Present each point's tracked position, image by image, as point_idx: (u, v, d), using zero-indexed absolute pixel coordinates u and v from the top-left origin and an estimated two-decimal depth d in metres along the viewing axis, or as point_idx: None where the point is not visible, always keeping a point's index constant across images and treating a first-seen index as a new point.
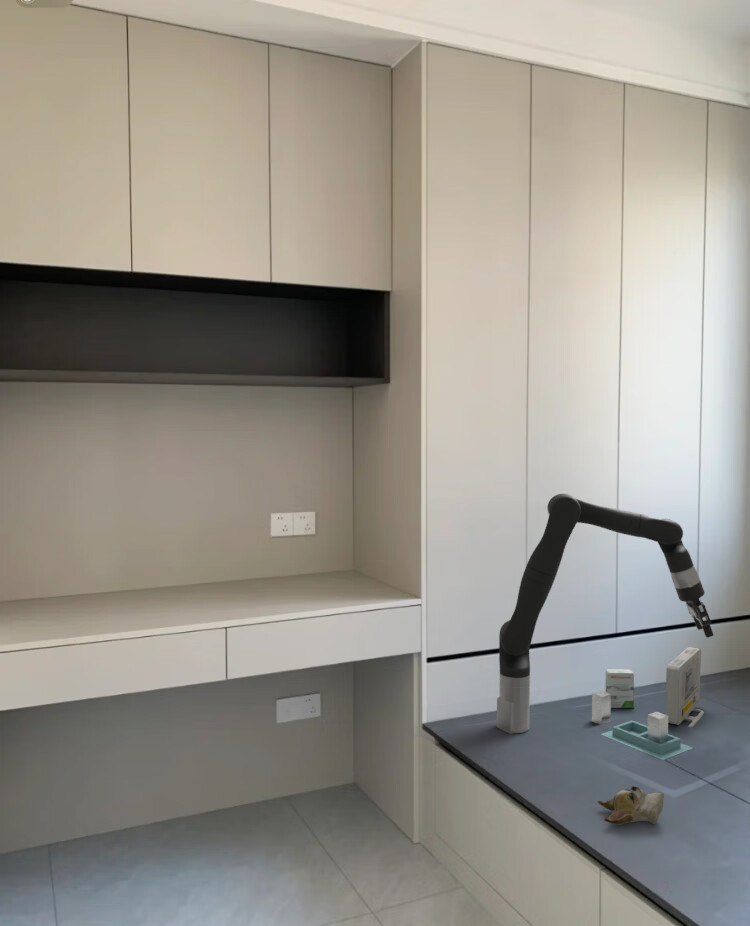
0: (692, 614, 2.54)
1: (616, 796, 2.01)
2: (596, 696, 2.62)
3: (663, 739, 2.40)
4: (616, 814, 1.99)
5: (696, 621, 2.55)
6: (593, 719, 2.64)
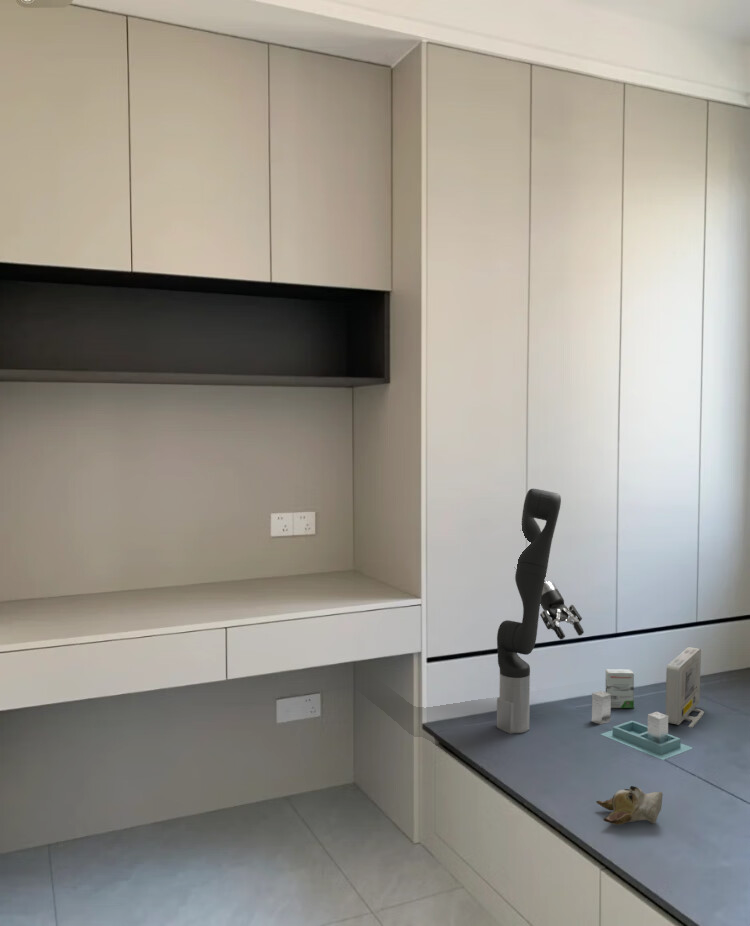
0: (558, 621, 2.72)
1: (615, 796, 2.02)
2: (596, 696, 2.62)
3: (663, 739, 2.40)
4: (615, 814, 1.99)
5: None
6: (593, 719, 2.64)
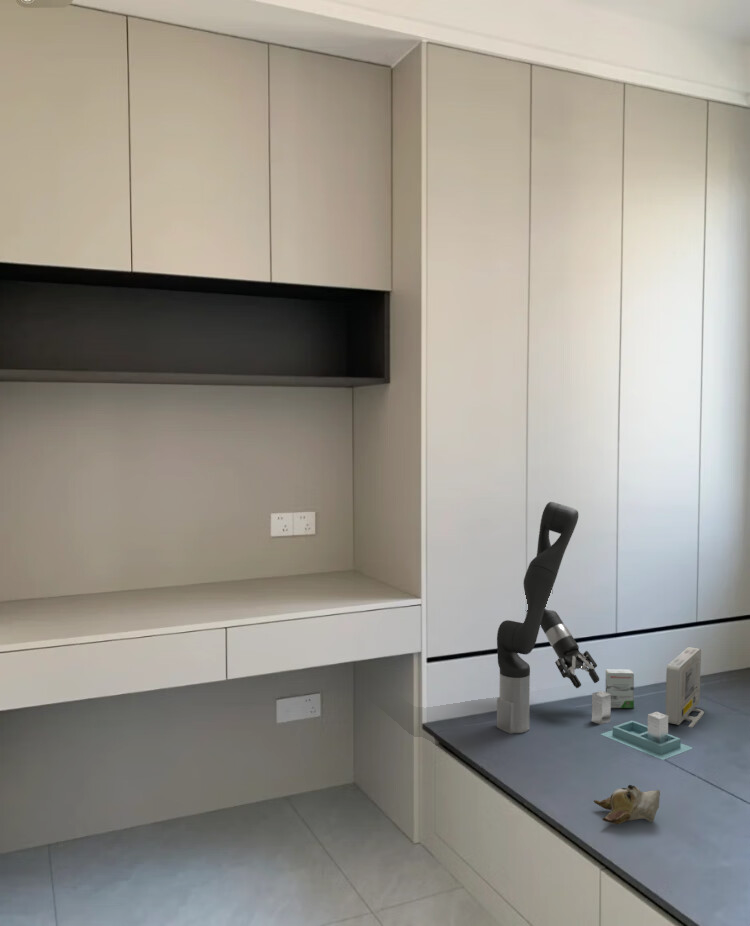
0: (574, 669, 2.68)
1: (613, 795, 2.02)
2: (596, 696, 2.62)
3: (663, 739, 2.40)
4: (614, 813, 1.99)
5: None
6: (593, 719, 2.64)
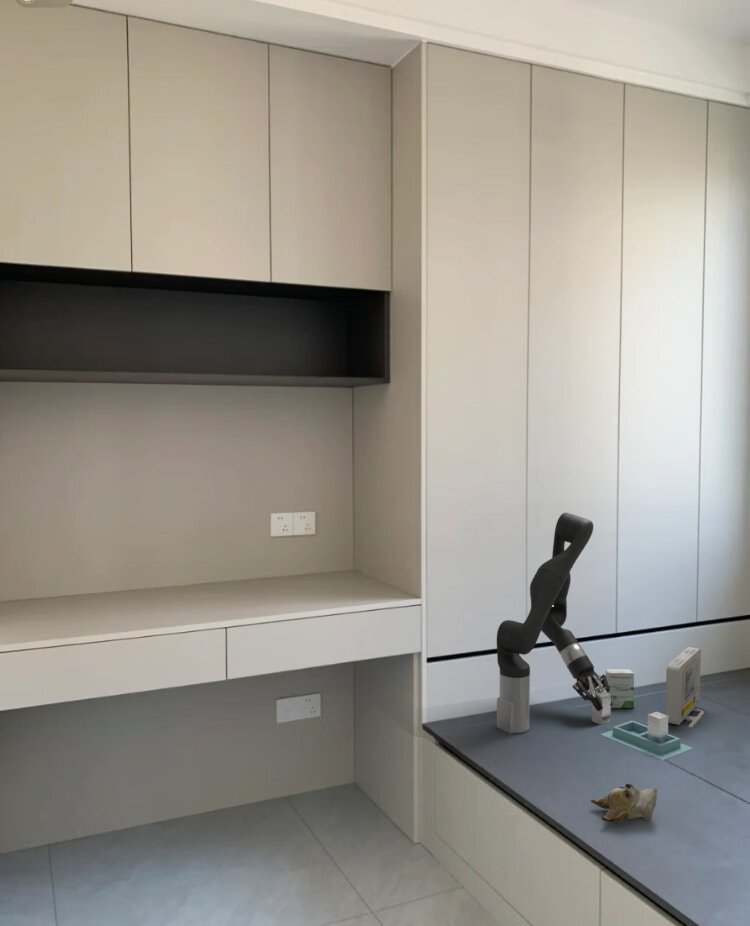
0: (593, 690, 2.63)
1: (611, 794, 2.02)
2: (596, 696, 2.62)
3: (663, 739, 2.40)
4: (612, 812, 2.00)
5: None
6: (593, 719, 2.64)
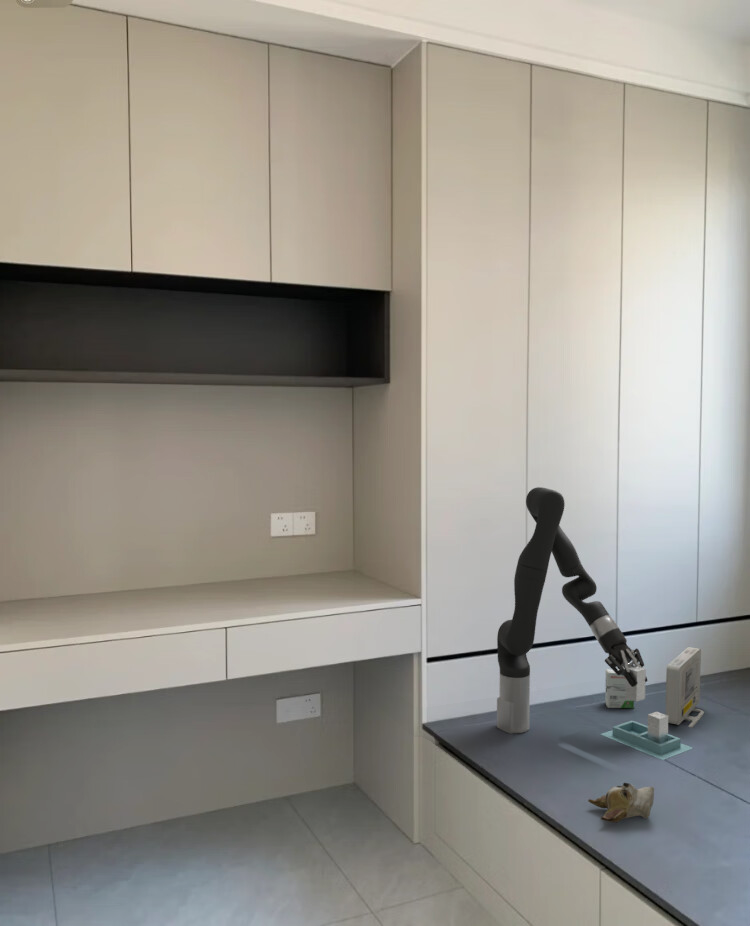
0: (627, 665, 2.47)
1: (609, 794, 2.03)
2: (630, 670, 2.46)
3: (663, 739, 2.40)
4: (611, 812, 2.00)
5: None
6: (627, 695, 2.48)
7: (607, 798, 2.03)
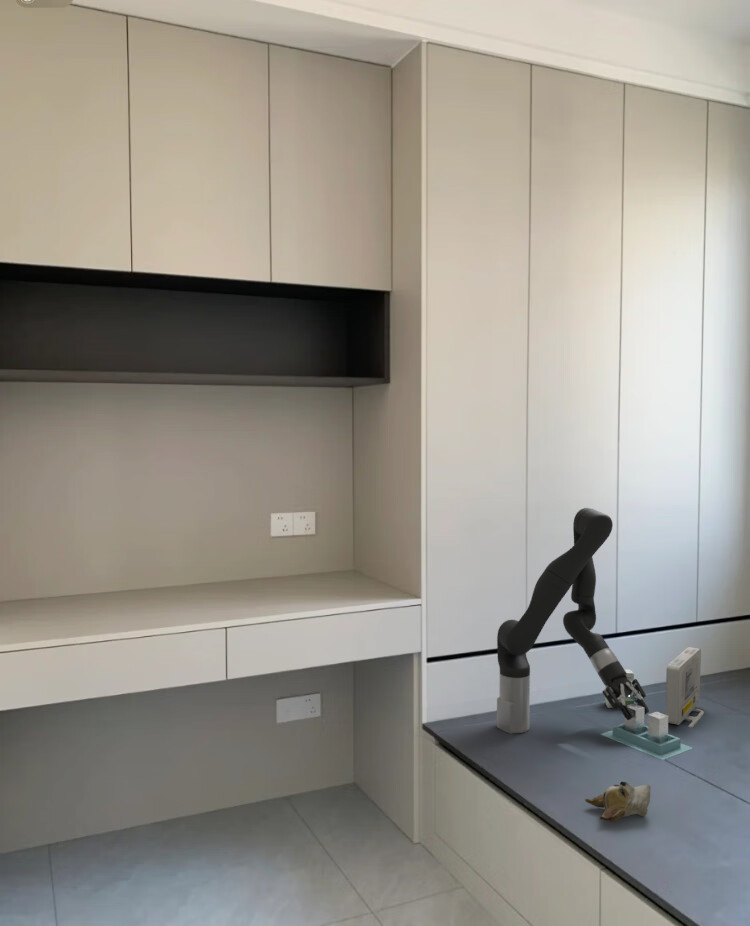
0: (624, 698, 2.47)
1: (606, 793, 2.03)
2: (629, 709, 2.47)
3: (663, 739, 2.40)
4: (609, 811, 2.01)
5: None
6: None
7: (605, 797, 2.03)
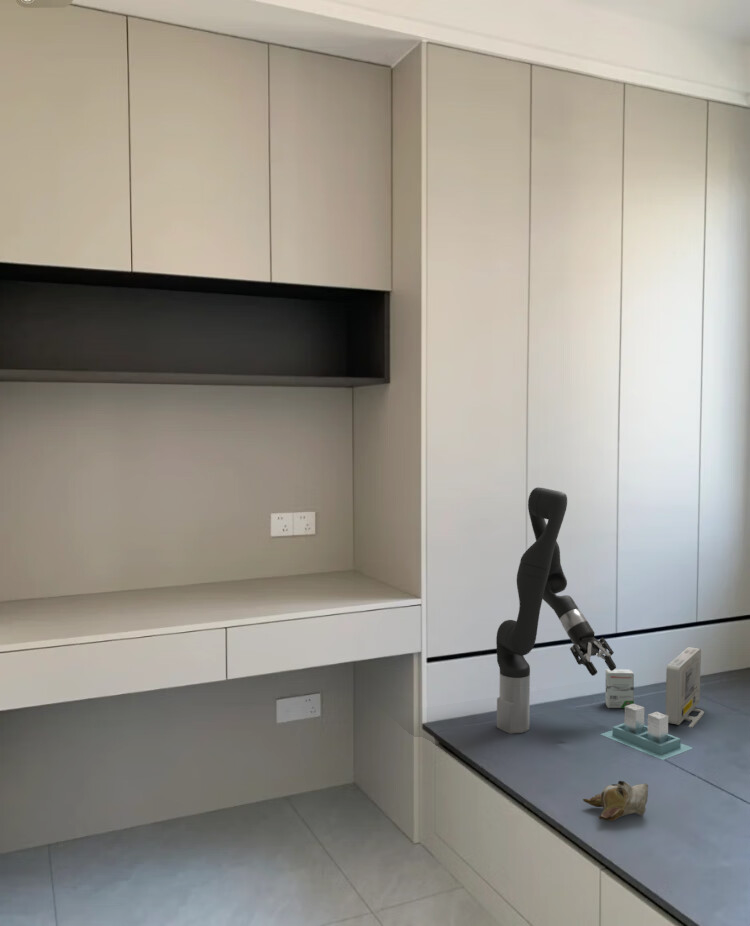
0: (590, 656, 2.57)
1: (605, 792, 2.03)
2: (629, 709, 2.47)
3: (663, 739, 2.40)
4: (608, 810, 2.01)
5: None
6: None
7: (603, 797, 2.03)
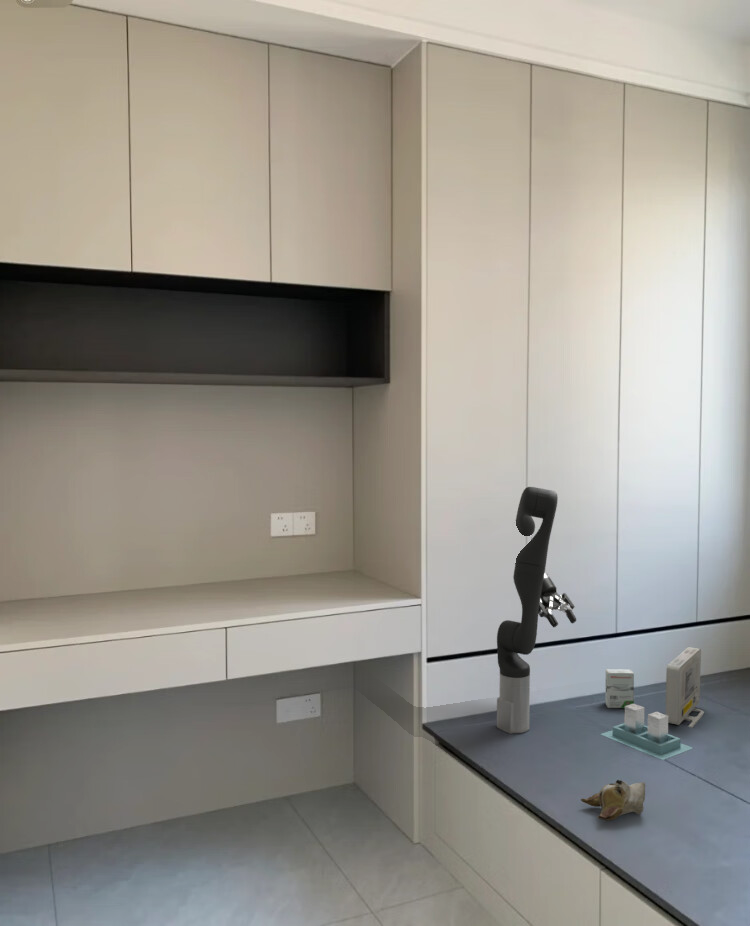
0: (551, 609, 2.72)
1: (603, 792, 2.04)
2: (629, 709, 2.47)
3: (663, 739, 2.40)
4: (606, 810, 2.01)
5: None
6: None
7: (601, 796, 2.03)
